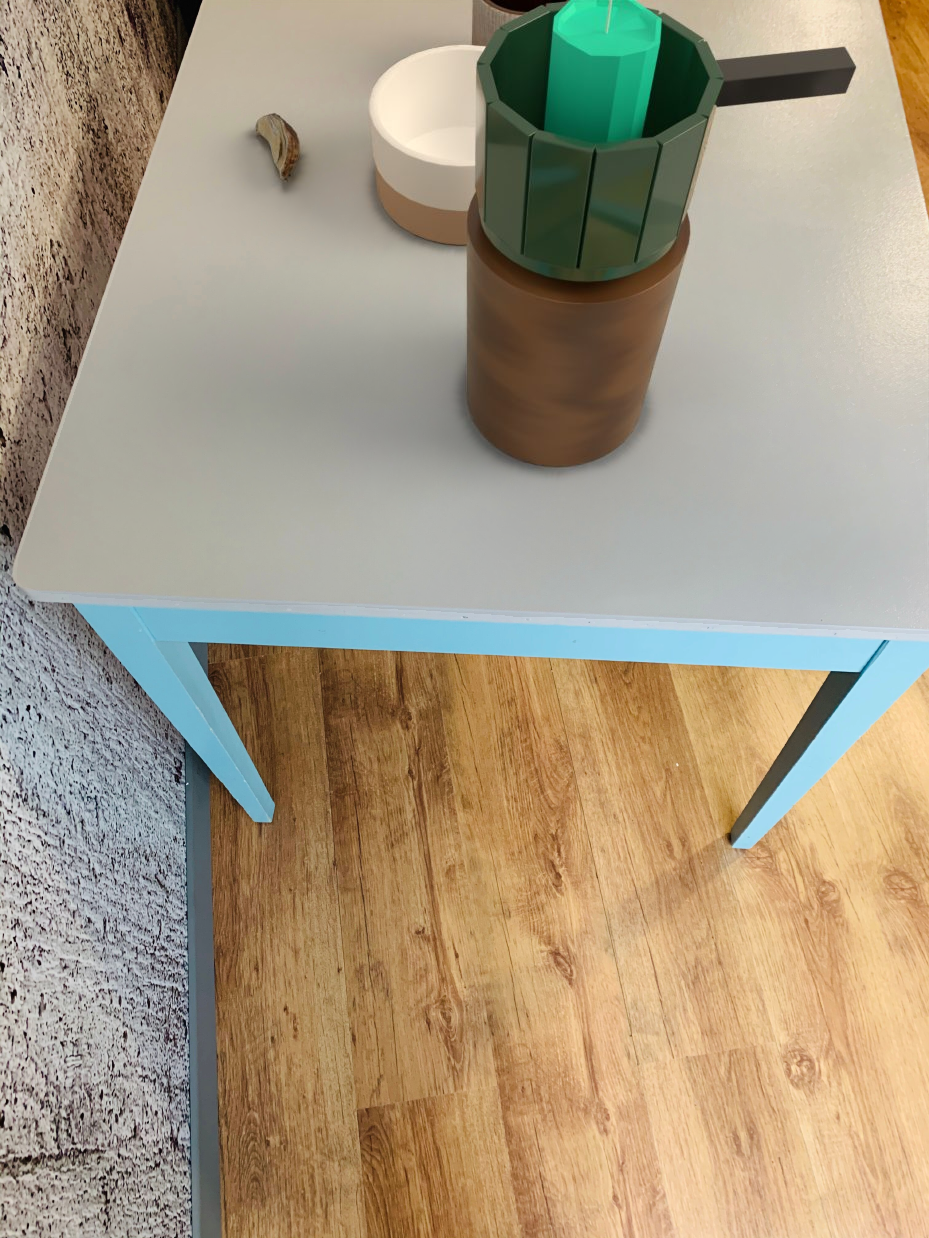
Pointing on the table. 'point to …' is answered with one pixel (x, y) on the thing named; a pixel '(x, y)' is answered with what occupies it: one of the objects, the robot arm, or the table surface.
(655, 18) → the candle
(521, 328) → the stand
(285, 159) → the oyster shell
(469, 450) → the table surface
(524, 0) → the planter
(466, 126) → the bowl
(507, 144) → the pot
